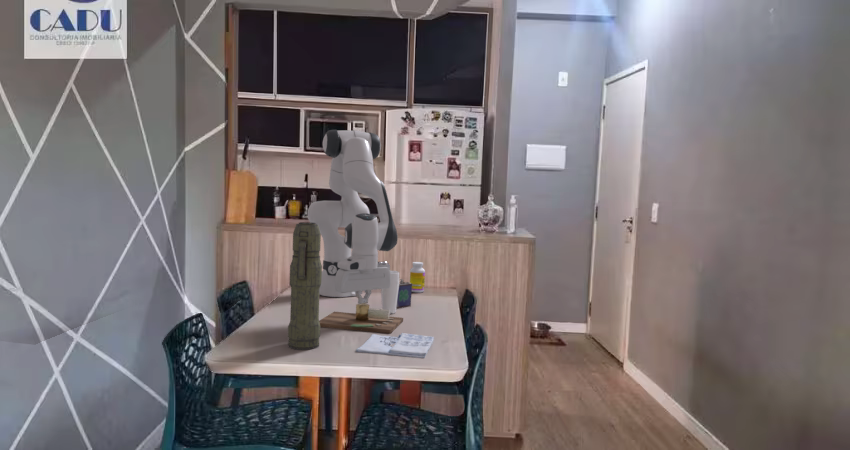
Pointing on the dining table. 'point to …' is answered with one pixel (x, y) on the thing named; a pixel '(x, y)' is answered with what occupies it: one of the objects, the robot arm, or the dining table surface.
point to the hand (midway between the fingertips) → (362, 303)
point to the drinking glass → (391, 293)
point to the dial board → (360, 323)
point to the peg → (370, 313)
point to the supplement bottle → (417, 277)
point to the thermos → (305, 287)
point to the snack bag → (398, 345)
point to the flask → (404, 294)
